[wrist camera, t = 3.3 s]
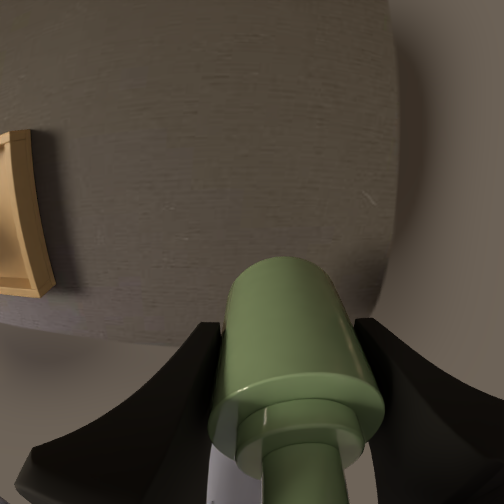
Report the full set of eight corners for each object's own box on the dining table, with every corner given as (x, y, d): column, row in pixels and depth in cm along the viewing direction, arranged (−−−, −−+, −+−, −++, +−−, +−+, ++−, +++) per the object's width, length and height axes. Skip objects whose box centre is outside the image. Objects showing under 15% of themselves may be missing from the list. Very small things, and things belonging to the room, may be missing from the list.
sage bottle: (330, 347, 13) (376, 526, 5) (230, 350, 13) (209, 538, 5) (342, 254, 11) (452, 451, 3) (223, 256, 11) (170, 479, 3)
